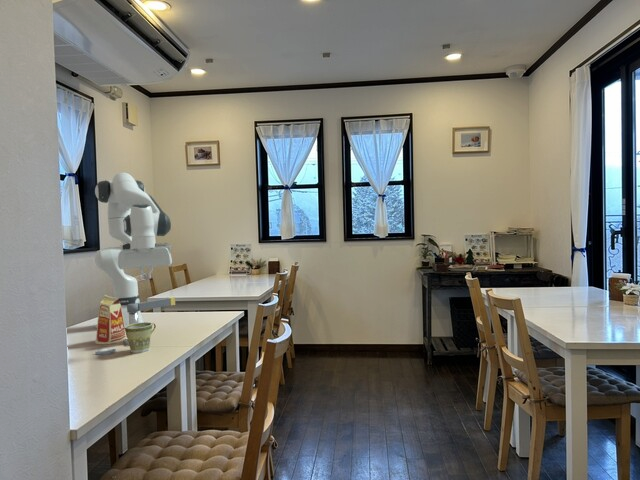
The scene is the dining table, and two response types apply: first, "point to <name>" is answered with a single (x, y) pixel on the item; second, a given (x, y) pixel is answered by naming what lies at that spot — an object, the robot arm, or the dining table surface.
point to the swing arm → (150, 304)
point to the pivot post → (132, 319)
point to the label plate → (105, 351)
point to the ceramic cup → (139, 336)
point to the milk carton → (110, 322)
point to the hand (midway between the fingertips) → (146, 278)
